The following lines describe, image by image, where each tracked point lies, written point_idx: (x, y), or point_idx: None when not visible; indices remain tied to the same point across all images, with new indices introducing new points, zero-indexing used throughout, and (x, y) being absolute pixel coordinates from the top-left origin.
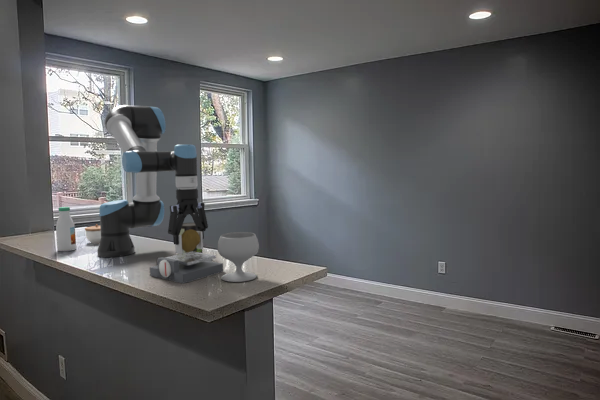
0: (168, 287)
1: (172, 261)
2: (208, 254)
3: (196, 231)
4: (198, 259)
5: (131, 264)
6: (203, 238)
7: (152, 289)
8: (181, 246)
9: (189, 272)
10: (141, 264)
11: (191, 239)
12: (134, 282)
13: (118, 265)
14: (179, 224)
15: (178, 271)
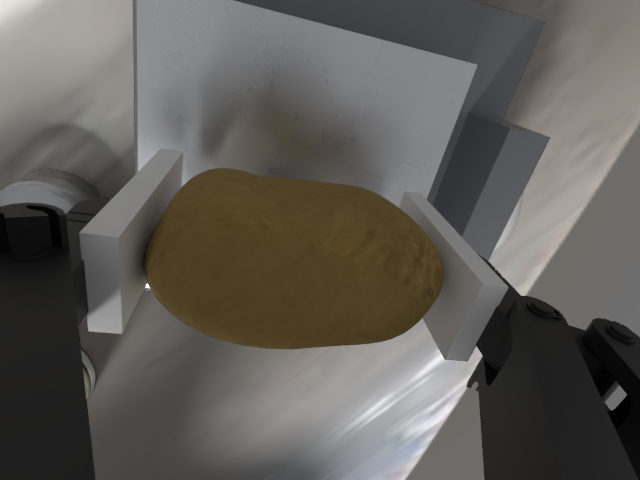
0: (586, 58)
1: (543, 150)
2: (150, 83)
3: (177, 283)
4: (357, 39)
5: (277, 456)
6: (90, 199)
7: (619, 117)
8: (433, 218)
9: (486, 11)
10: (260, 434)
11: (341, 203)
12: (512, 272)
13: (308, 474)
14: (608, 429)
15: (471, 113)
